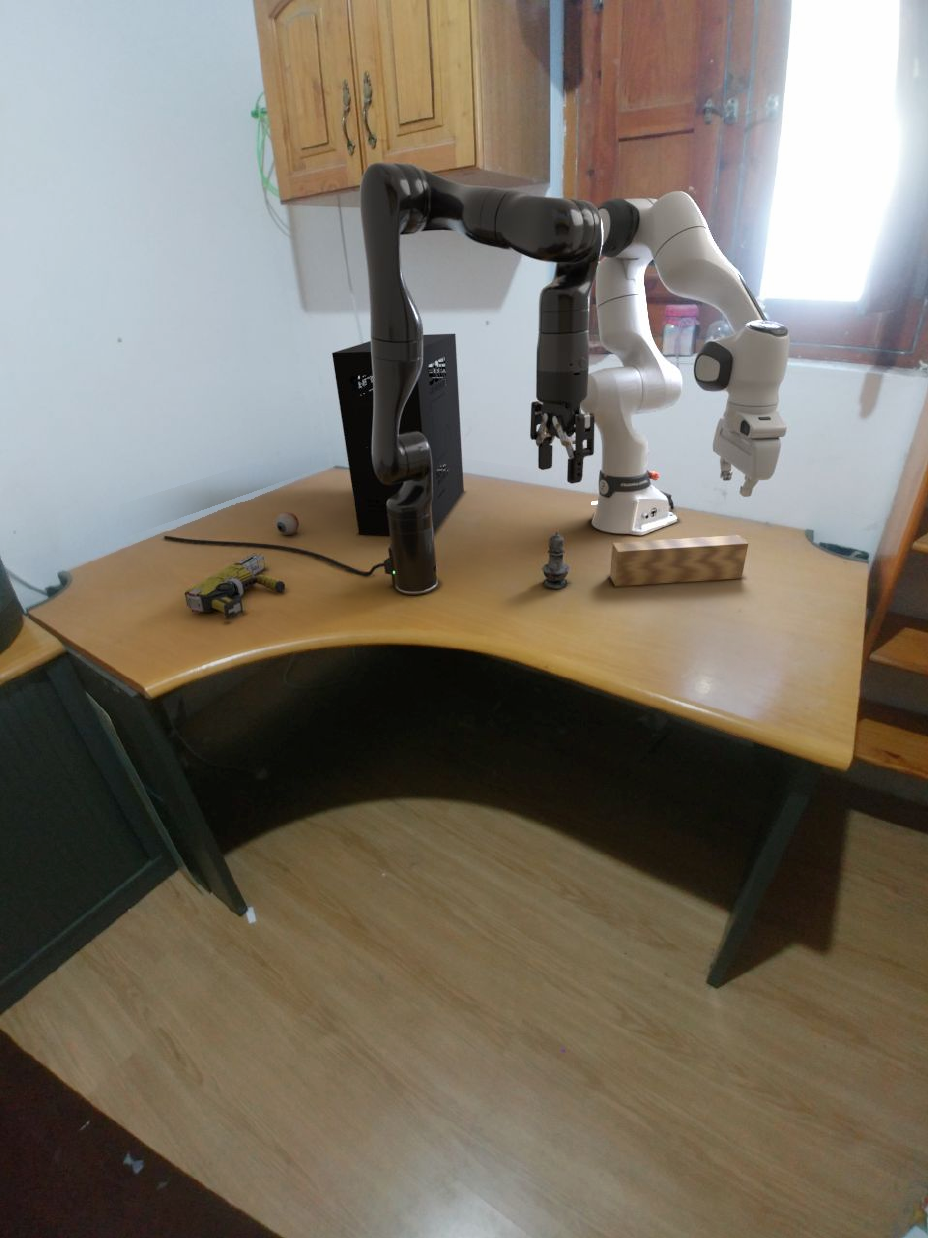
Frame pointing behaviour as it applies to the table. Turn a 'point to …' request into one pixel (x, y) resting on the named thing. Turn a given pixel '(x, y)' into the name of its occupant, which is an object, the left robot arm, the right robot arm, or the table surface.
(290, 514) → the eyeball
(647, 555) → the bar
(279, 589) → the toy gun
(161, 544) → the table surface
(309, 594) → the table surface
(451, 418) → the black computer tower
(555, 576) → the weathered chess pawn
